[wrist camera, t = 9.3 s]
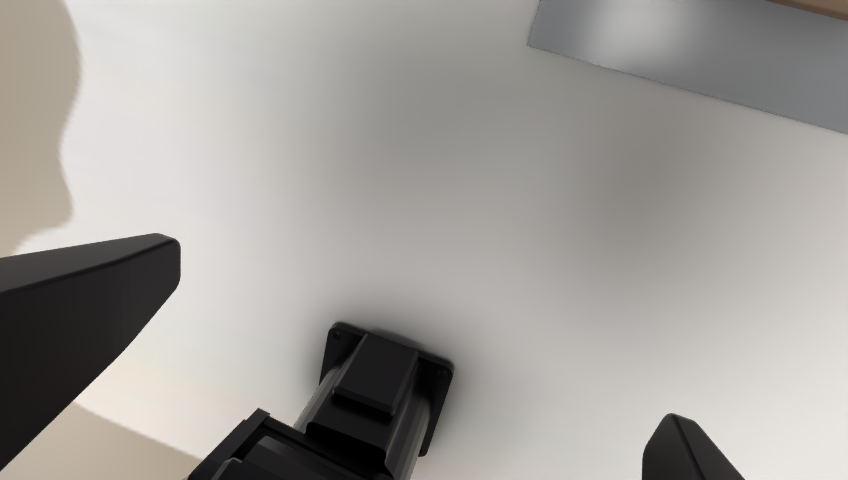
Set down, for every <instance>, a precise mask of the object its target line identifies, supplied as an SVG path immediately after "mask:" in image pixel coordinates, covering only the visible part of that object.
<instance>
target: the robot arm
mask: <svg viewBox="0 0 848 480" xmlns="http://www.w3.org/2000/svg"><path fill="white" fill-rule="evenodd" d="M180 276H181V247H180V243H179V242H178V241H177V240H176V239H174V238H171V237H168V236H166V235H163V234H160V233H153V234H147V235H140V236H134V237H128V238H121V239H115V240H109V241H103V242H96V243H90V244H84V245H78V246H71V247H65V248H59V249H53V250H46V251H40V252H34V253H28V254H21V255H15V256H9V257H4V258H0V471H1V470H2V469H3V468H4V467H5V466H6V465H7V464H8V463H9V462H10V461H12V459H14V458H15V457H16V456H17V455H18V454H19V453H20V452H21V451H22V450H23V449H24V448H25V447H26V446H27V445H28V444H29V443H30V442H31V441H32V440H33V439H34V438H35V437H36V436H37V435H38V434H39V433H40V432H41V431H42V430H43V429H44V428H45V427H46V426H47V425H48V424H50V423H51V422H52V421H53V420H54V419H55V418H56V417H57V416H58V415H59V414H60V413H61V412H62V411H63V410H64V409H65V408H66V407H67V406H68V405H69V404H70V403H71V402H72V401H73V400H74V399H75V398H76V397H77V396H78V395H79V394H80V393H81V392H82V391H83V390H84V389H85V388H87V387H88V386H89V385H90V384H91V383H92V382H93V381H94V380H95V379H96V378H97V377H98V376H99V375H100V374H101V373H102V372H103V371H104V370H105V369H106V368H107V367H108V366H109V365H110V364H111V363H112V362H113V361H114V360H115V359H116V358H117V357H118V356H119V355H120V354H121V353H122V352H123V351H124V350H125V349H126V348H127V347H128V345H129V344H130V343H131V342H132V341H133V340H134V339H135V337H136V336H137V335H138V334H139V333H140V331H141V330H142V329H143V328H144V327H145V325H146V324H147V323H148V322H149V321H150V319H151V318H152V317H153V316H154V315H155V314H156V312H157V311H158V310H159V309H160V308H161V306H162V305H163V304H164V303H165V302H166V300H167V299H168V298H169V297H170V296H171V294H172V293H173V292H174V291H175V289H176V288H177V286H178V284H179V281H180ZM337 332H339V333H341V335H342V336H341V335H338V334H337ZM440 370H445V371H446V372H447V373H443V372H441V371H440ZM453 374H454V367H453V365H452V364H451V363H450V362H448V361H445V360H443V359H440V358H437V357H434V356H431V355H429V354H426V353H423V352H420V351H417V350H415V349H412V348H409V347H406V346H403V345H401V344H398V343H395V342H392V341H389V340H387V339H384V338H381V337H378V336H375V335H373V334H370V333H367V332H364V331H361V330H359V329H356V328H353V327H350V326H347V325H345V324H342V323H335V324H334V325H333V326H332V327H331V328H330V330H329V332H328V337H327V342H326V348H325V353H324V359H323V365H322V370H321V376H320V381H319V387H318V389H317V390H316V392H315V393H314V395H313V396H312V398H311V399H310V401H309V403H308V404H307V406H306V407H305V409H304V410H303V412H302V414H301V415H300V417H299V418H298V420H297V421H296V423H295V424H294V426H293V428H292V427H290V426H288V425H286V424H284V423H282V422H280V421H278V420H276V419H274V418H272V417H270V413H268V412H266V411H264V410H262V409H260V408H258V409H257V410H256V411H255V412H254V413H253V414H252V415H251V416H250V417H249V418H248V419H247V420H245V419H244V420H243V421H242V422H241V423H240V424H239V425H238V426H237V427H236V428H235V429H234V430H233V431H232V432H231V433H230V434H229V435H228V436H227V437H226V438H225V439H224V440H223V441H222V442H221V443H220V444H219V445H218V446H217V447H216V448H215V449H214V450H213V451H212V452H211V453H210V454H209V455H208V456H207V457H206V458H205V459H204V460H203V461H202V462H201V463H200V464H199V465H198V466H197V467H196V468H195V469H194V470H193V472H192V473H191V474H190V475H189V476H187V477H186V478H184V479H183V480H410V478H411V475H412V472H413V469H414V466H415V463H416V460H417V457H423V456H425V455H426V453H427V451H428V448H429V445H430V442H431V439H432V436H433V433H434V430H435V427H436V424H437V422H438V419H439V416H440V413H441V410H442V407H443V404H444V401H445V398H446V395H447V392H448V389H449V386H450V383H451V380H452V377H453ZM642 480H745V479H744V478H743V477H742V476H741V474H740V473H739V472H738V471H737V470H736V469H735V467H734V466H733V465H732V464H731V463H730V462H729V460H728V459H727V458H726V457H725V456H724V454H723V453H722V452H721V451H720V450H719V449H718V447H717V446H716V445H715V444H714V443H713V441H712V440H711V439H710V438H709V437H708V436H707V434H706V433H705V432H704V431H703V430H702V429H701V427H700V426H699V425H698V424H697V423H696V422H695V421H693V420H691V419H688V418H685V417H682V416H679V415H677V414H674V413H670V414H667V415H666V416H665V417H664V418H663V419H662V421H661V422H660V424H659V426H658V427H657V429H656V430H655V432H654V433H653V435H652V437H651V438H650V440H649V441H648V443H647V445H646V447H645V449H644V453H643V459H642Z"/></svg>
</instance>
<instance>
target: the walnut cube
mask: <svg viewBox="0 0 848 480" xmlns="http://www.w3.org/2000/svg"><path fill="white" fill-rule="evenodd" d="M766 1H770V2H774V3H778V4H782V5H786V6H790V7H793V8H797V9H801V10H805V11H809V12H813V13H817V14H821V15H825V16H829V17H833V18H837V19H841V20H845V21H848V0H766Z"/></svg>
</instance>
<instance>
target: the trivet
mask: <svg viewBox="0 0 848 480" xmlns="http://www.w3.org/2000/svg"><path fill="white" fill-rule="evenodd" d="M527 46H530V47H534V48H538V49H541V50H545V51H548V52H552V53H556V54H559V55H563V56H566V57H570V58H574V59H577V60H581V61H585V62H588V63H592V64H595V65H599V66H603V67H606V68H610V69H613V70H617V71H621V72H624V73H628V74H631V75H635V76H639V77H642V78H646V79H650V80H653V81H657V82H660V83H664V84H668V85H671V86H675V87H678V88H682V89H686V90H689V91H693V92H697V93H700V94H704V95H707V96H711V97H715V98H718V99H722V100H725V101H729V102H733V103H736V104H740V105H744V106H747V107H751V108H754V109H758V110H762V111H765V112H769V113H772V114H776V115H780V116H783V117H787V118H791V119H794V120H798V121H801V122H805V123H809V124H812V125H816V126H819V127H823V128H827V129H830V130H834V131H838V132H841V133H845V134H848V21H845V20H841V19H837V18H833V17H829V16H825V15H821V14H817V13H813V12H809V11H805V10H801V9H797V8H793V7H790V6H786V5H782V4H778V3H774V2H770V1H766V0H540V4H539V7H538V10H537V13H536V17H535V20H534V23H533V26H532V30H531V33H530V36H529V40H528V43H527Z"/></svg>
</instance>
